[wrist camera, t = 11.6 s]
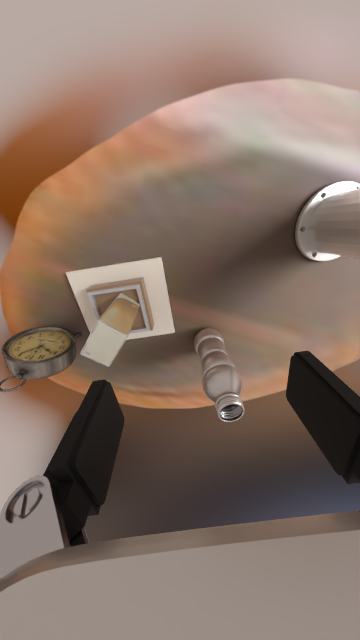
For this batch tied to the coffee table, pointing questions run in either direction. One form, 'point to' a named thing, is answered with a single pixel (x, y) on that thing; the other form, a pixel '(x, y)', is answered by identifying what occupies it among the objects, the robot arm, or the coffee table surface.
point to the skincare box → (111, 331)
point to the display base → (126, 273)
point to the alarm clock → (39, 353)
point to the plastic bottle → (219, 375)
